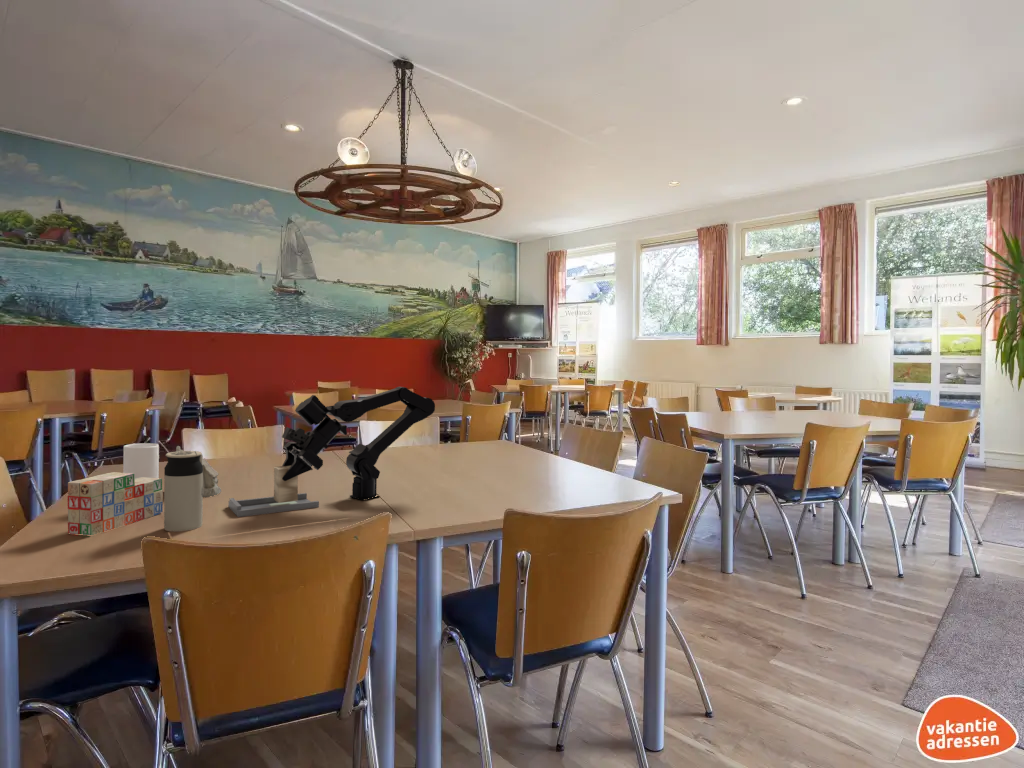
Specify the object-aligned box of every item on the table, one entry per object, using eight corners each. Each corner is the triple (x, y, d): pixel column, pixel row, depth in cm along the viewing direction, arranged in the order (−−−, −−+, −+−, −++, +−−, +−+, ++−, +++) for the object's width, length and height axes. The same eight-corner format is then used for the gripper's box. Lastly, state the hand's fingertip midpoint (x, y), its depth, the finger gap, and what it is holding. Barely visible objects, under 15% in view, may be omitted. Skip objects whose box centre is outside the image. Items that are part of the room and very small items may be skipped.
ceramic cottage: (210, 498, 169) (210, 446, 169) (152, 499, 169) (153, 446, 169) (235, 490, 185) (235, 442, 185) (182, 490, 184) (182, 442, 185)
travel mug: (161, 534, 135) (162, 456, 134) (166, 525, 142) (167, 451, 141) (200, 531, 138) (201, 455, 137) (203, 522, 145) (204, 450, 144)
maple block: (292, 497, 165) (292, 465, 165) (297, 500, 161) (297, 468, 161) (273, 499, 162) (274, 466, 162) (278, 502, 158) (279, 469, 158)
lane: (305, 499, 171) (305, 489, 171) (318, 508, 161) (319, 497, 161) (228, 508, 159) (228, 497, 159) (237, 518, 149) (238, 507, 149)
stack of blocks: (142, 511, 154) (142, 465, 153) (163, 513, 153) (163, 466, 152) (67, 535, 133) (67, 481, 132) (91, 537, 131) (91, 483, 131)
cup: (133, 499, 166) (134, 442, 166) (164, 499, 167) (164, 443, 166) (116, 506, 158) (116, 447, 157) (148, 506, 159) (149, 447, 158)
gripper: (291, 413, 171) (250, 454, 165) (311, 420, 156) (267, 464, 150) (318, 439, 176) (279, 479, 170) (340, 447, 161) (298, 491, 155)
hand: (280, 478), depth 161 cm, fingers closed on maple block, 5 cm apart
